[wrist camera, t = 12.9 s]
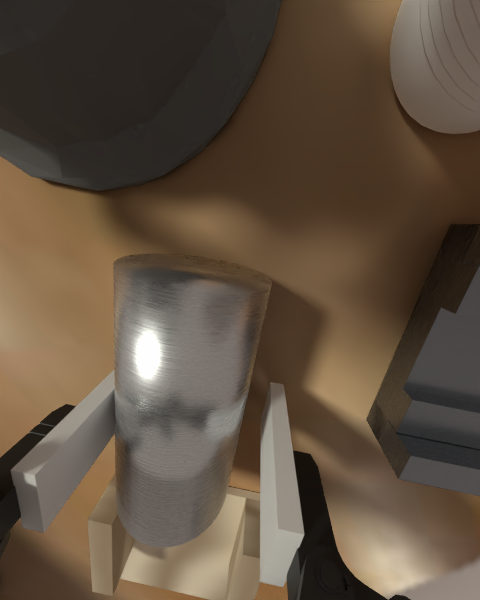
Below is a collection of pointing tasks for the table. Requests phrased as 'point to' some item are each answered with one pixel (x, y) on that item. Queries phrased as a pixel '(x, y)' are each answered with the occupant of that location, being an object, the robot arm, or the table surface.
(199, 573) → the bracket
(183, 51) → the lantern
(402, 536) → the table surface
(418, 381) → the v block
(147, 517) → the grey metal cylinder
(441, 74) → the cup
